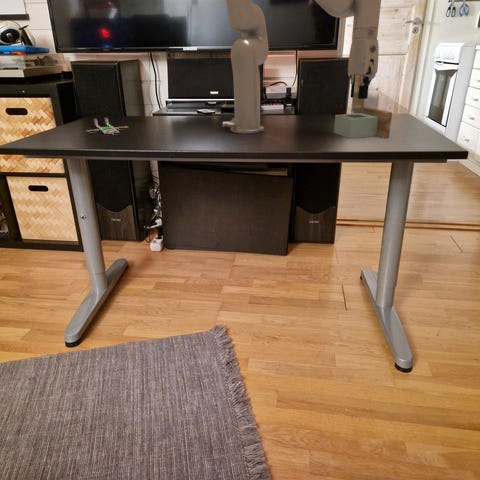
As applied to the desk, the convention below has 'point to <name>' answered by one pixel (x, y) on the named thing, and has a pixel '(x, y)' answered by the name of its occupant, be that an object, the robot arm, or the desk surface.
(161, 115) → the desk surface
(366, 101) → the photo printer
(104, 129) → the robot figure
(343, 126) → the block
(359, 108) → the dowel
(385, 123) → the board
